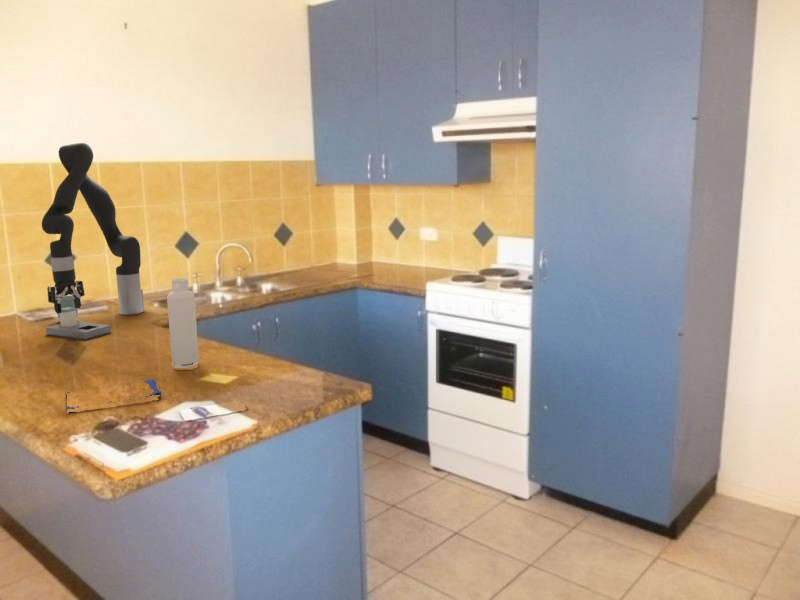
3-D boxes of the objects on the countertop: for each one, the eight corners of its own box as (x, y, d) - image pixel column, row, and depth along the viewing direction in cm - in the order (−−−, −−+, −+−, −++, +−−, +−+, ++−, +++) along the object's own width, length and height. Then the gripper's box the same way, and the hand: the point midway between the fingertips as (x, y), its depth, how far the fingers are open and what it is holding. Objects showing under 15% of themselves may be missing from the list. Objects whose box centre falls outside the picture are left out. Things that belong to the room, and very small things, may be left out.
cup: (70, 323, 271) (67, 299, 269) (53, 323, 273) (50, 298, 271) (83, 319, 279) (80, 295, 277) (66, 318, 280) (64, 295, 278)
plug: (70, 329, 259) (67, 307, 257) (77, 330, 257) (75, 307, 256) (61, 332, 255) (58, 309, 254) (69, 333, 254) (66, 309, 252)
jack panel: (73, 328, 264) (72, 320, 263) (111, 332, 256) (110, 325, 255) (46, 335, 253) (45, 327, 252) (85, 340, 245) (84, 332, 244)
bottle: (204, 364, 214) (198, 278, 209) (188, 372, 207) (182, 282, 201) (183, 362, 217) (176, 276, 211) (167, 369, 209) (159, 281, 204)
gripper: (71, 265, 259) (76, 306, 263) (39, 271, 246) (45, 314, 250) (86, 266, 256) (90, 307, 260) (54, 272, 244) (59, 315, 247)
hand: (68, 310), depth 255 cm, fingers open, 8 cm apart
